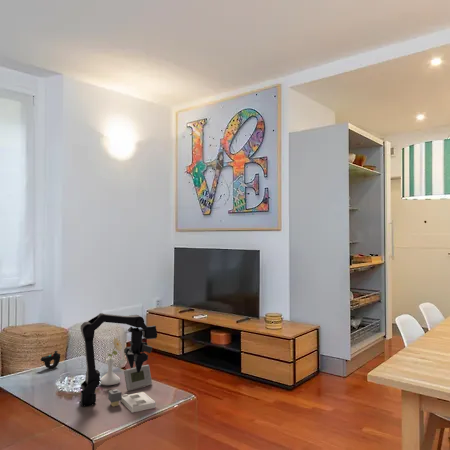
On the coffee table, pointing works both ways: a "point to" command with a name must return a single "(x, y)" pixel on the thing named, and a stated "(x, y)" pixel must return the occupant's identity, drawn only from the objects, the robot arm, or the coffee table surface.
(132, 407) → the socket
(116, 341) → the flower in vase
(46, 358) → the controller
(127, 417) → the coffee table surface
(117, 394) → the plug
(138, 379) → the digital clock
